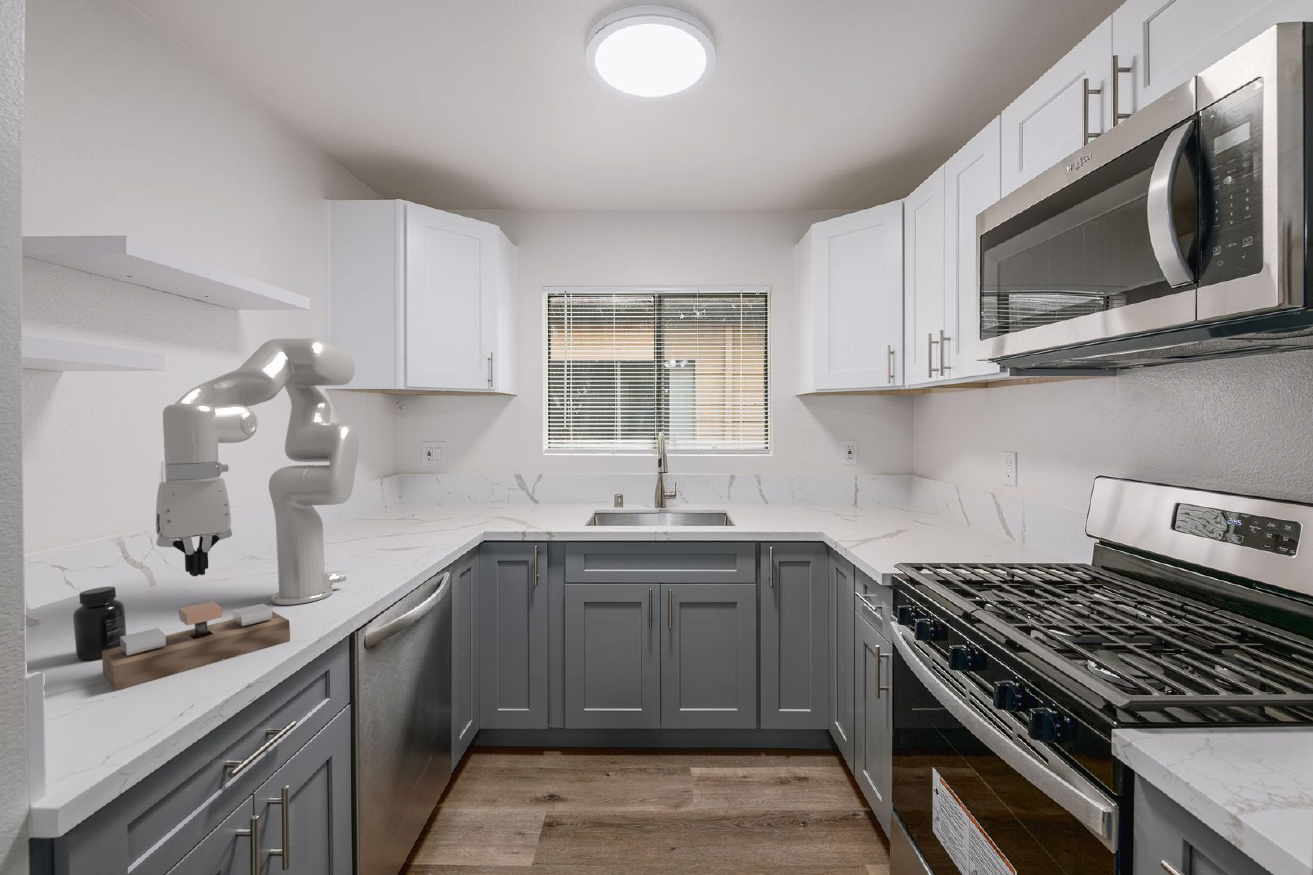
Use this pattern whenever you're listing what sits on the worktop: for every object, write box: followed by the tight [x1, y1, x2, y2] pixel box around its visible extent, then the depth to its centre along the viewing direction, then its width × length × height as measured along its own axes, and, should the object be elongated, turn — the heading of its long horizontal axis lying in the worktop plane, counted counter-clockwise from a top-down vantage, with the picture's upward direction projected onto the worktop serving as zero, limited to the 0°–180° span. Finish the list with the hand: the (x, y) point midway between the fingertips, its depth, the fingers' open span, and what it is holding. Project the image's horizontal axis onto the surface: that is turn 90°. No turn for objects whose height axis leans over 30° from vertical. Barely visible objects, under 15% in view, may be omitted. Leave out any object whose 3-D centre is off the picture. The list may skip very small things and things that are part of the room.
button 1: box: [120, 627, 166, 656], centre depth 99 cm, size 5×5×6 cm
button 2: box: [232, 603, 273, 626], centre depth 111 cm, size 5×5×6 cm
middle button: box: [178, 601, 223, 639], centre depth 105 cm, size 5×5×6 cm
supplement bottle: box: [72, 586, 127, 662], centre depth 107 cm, size 7×7×12 cm
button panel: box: [102, 610, 291, 692], centre depth 105 cm, size 25×10×4 cm, turn 142°
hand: (197, 574), depth 104 cm, fingers closed
